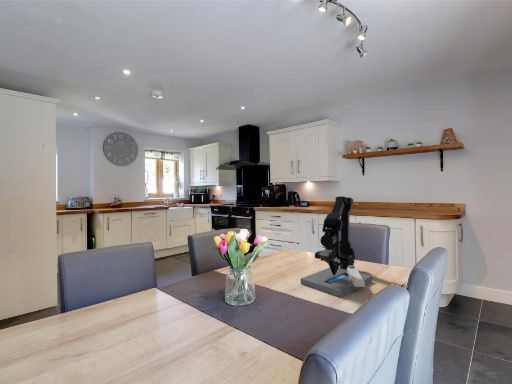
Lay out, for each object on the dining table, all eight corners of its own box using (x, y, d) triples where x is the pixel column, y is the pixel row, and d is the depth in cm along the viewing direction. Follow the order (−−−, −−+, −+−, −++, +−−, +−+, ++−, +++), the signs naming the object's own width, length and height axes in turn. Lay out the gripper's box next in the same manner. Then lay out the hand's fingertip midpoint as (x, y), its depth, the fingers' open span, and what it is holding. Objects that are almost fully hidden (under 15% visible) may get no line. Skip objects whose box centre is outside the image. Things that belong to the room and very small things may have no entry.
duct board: (300, 283, 130) (300, 278, 130) (332, 271, 147) (332, 266, 147) (341, 297, 113) (341, 291, 113) (371, 281, 130) (371, 276, 130)
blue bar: (327, 281, 127) (332, 282, 125) (342, 274, 135) (346, 276, 133) (328, 286, 127) (332, 287, 125) (342, 279, 135) (346, 280, 133)
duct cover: (346, 270, 139) (346, 265, 139) (355, 270, 138) (355, 265, 138) (354, 286, 117) (354, 280, 117) (365, 286, 117) (364, 280, 116)
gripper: (307, 242, 132) (308, 274, 133) (340, 249, 118) (341, 284, 119) (321, 239, 140) (322, 269, 140) (354, 244, 125) (355, 278, 126)
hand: (334, 275), depth 131 cm, fingers closed
